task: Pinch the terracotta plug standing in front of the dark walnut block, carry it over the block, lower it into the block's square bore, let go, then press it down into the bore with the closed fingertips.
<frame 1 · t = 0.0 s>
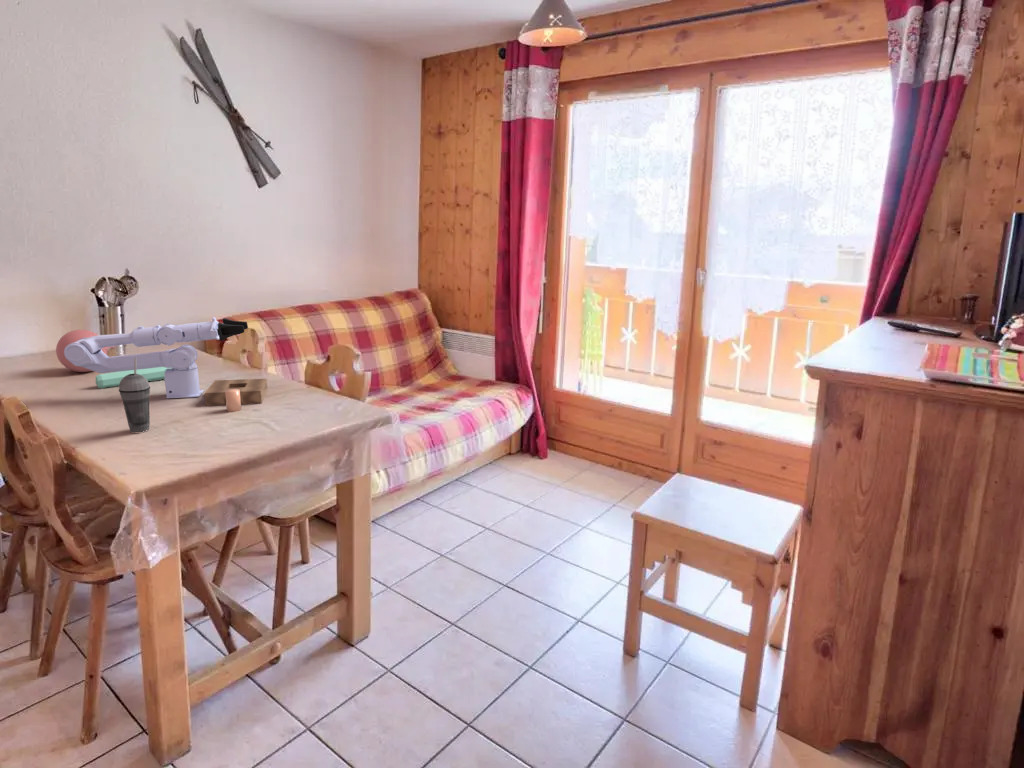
hand: (245, 327, 205), 22 cm above the table, tool horizontal, fingers open, 7 cm apart
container: (138, 383, 220), on the table
beverage cup: (140, 431, 172), on the table
terracotta plug: (234, 409, 192), on the table
balloon: (92, 371, 235), on the table
walnut bore block: (238, 397, 204), on the table
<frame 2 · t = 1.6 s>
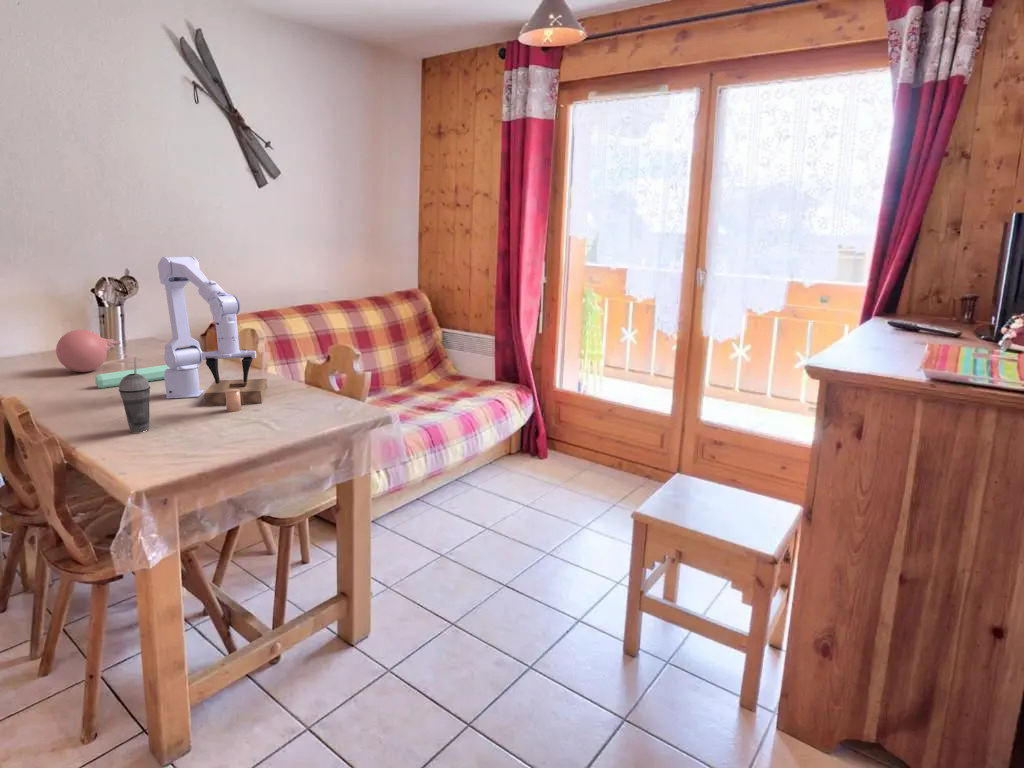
hand: (231, 382, 189), 8 cm above the table, tool pointing down, fingers open, 7 cm apart
nothing on the table moved.
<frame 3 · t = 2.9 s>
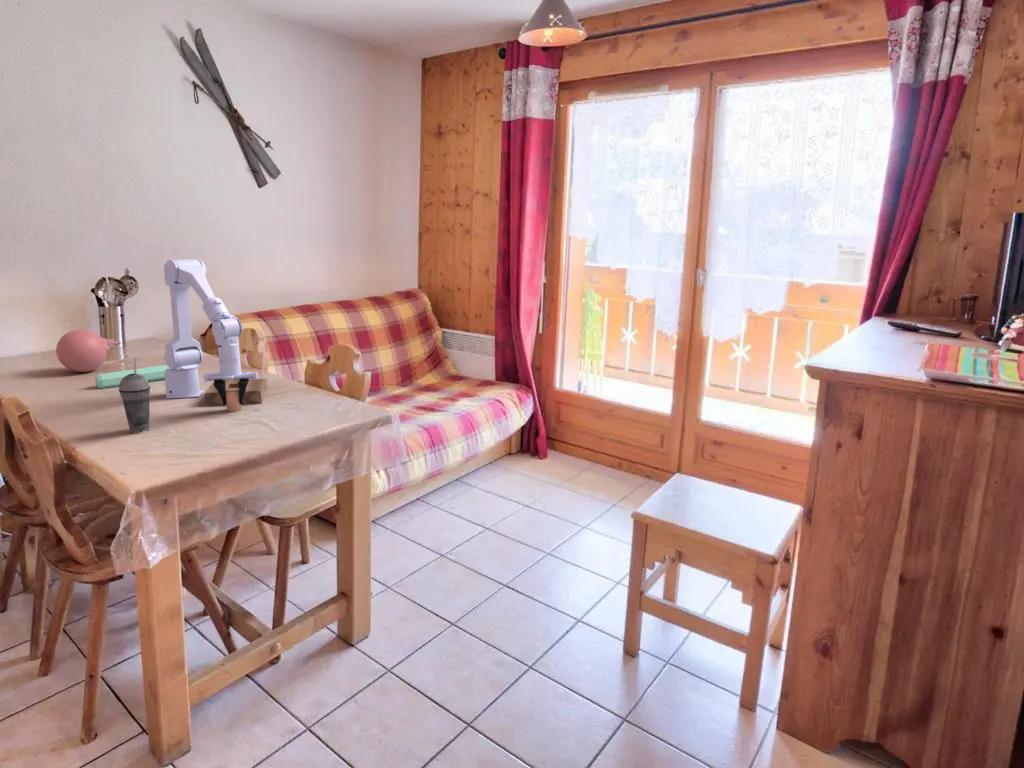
hand: (233, 403, 191), 2 cm above the table, tool pointing down, fingers closed on terracotta plug, 4 cm apart
terracotta plug: (234, 409, 192), on the table, touching gripper
everything else where it was.
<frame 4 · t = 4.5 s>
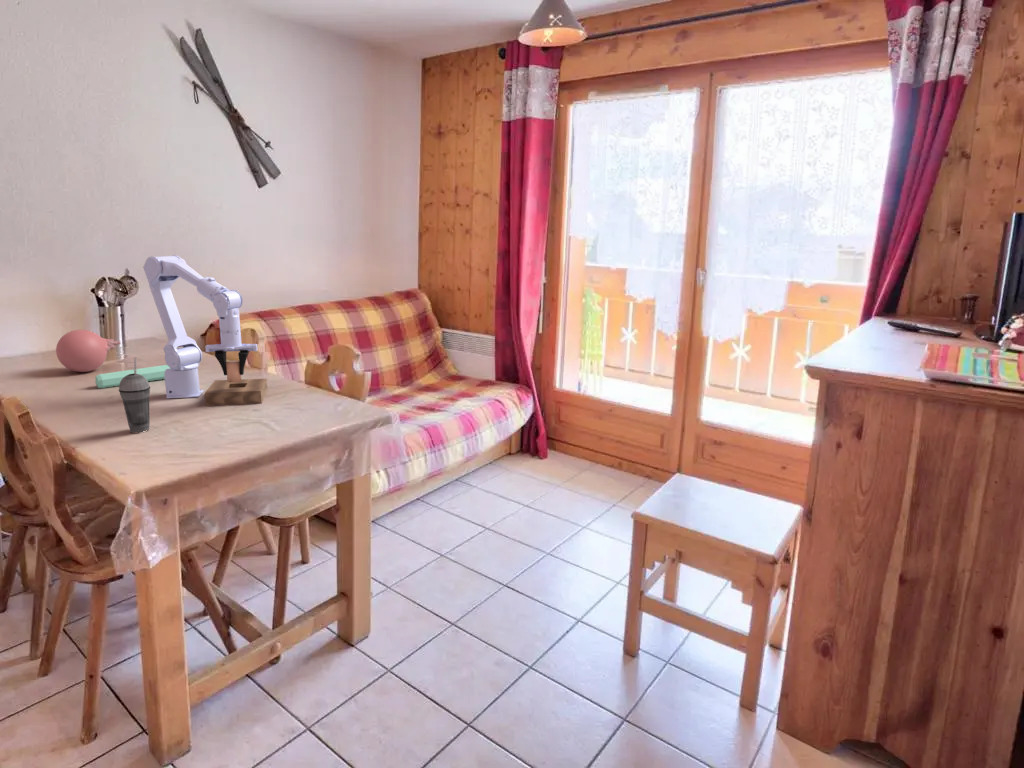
hand: (234, 374, 198), 9 cm above the table, tool pointing down, fingers closed on terracotta plug, 4 cm apart
terracotta plug: (234, 380, 198), point 7 cm above the table, touching gripper
everything else where it was.
when the fingers open (5 cm above the table, at t = 6.1 s): terracotta plug drops 3 cm, resting in walnut bore block.
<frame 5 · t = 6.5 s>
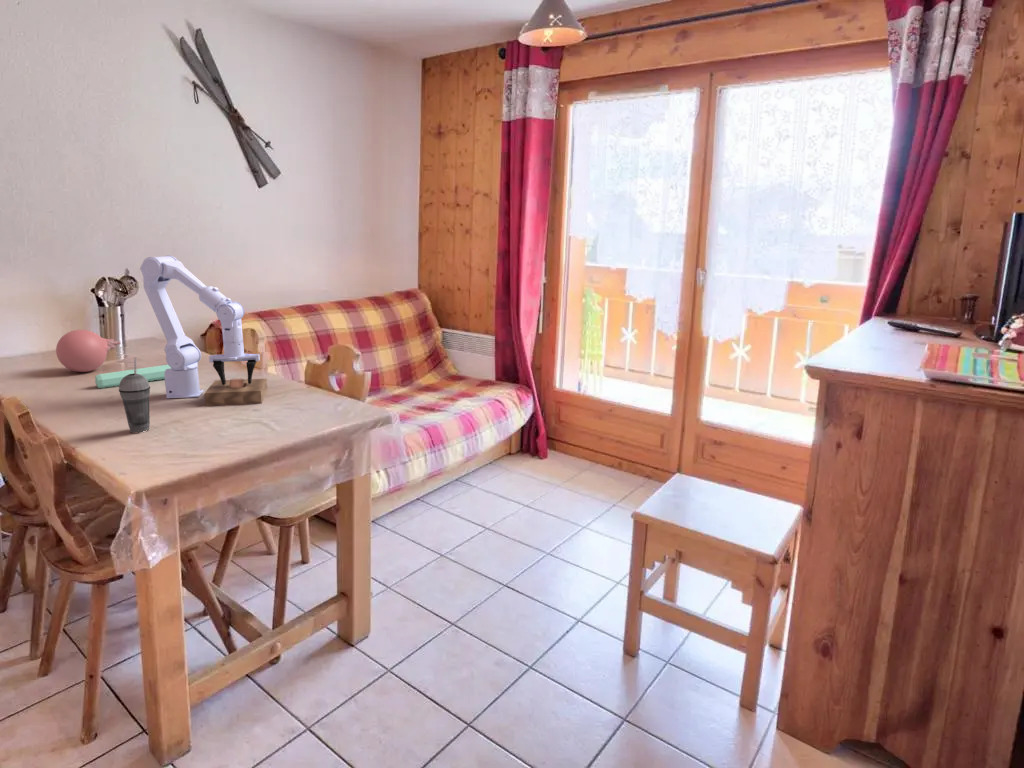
hand: (236, 383, 203), 5 cm above the table, tool pointing down, fingers open, 7 cm apart
terracotta plug: (237, 397, 204), resting in walnut bore block
everything else where it was.
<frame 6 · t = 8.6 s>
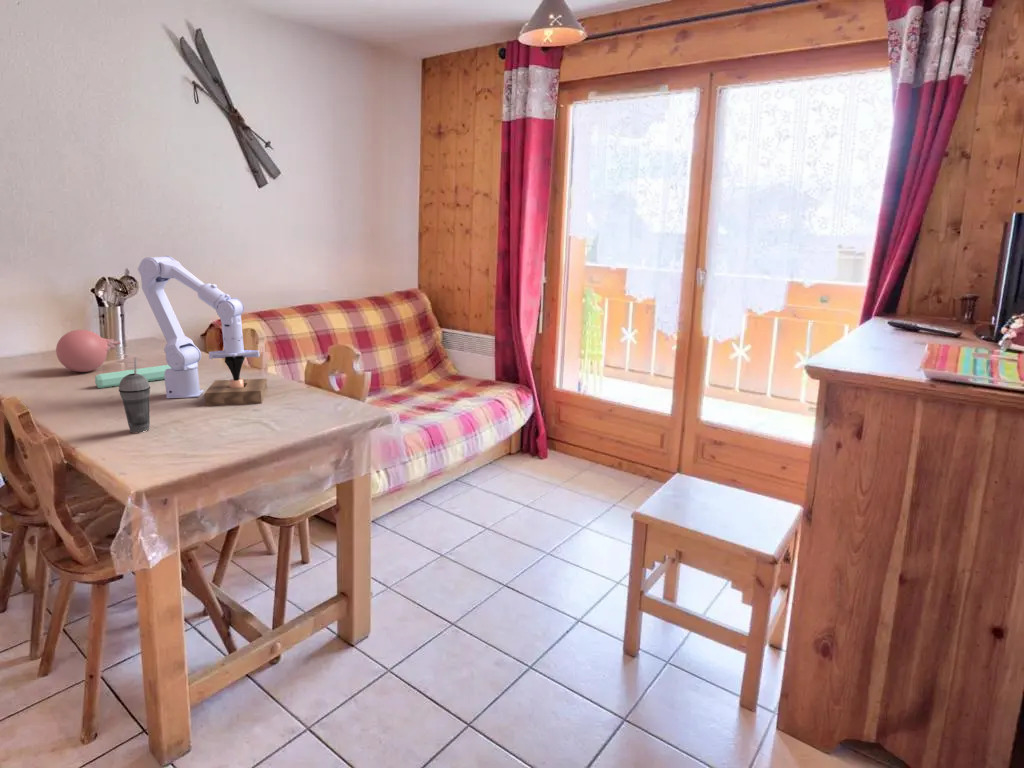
hand: (236, 380, 203), 6 cm above the table, tool pointing down, fingers closed, pressing on terracotta plug
terracotta plug: (237, 398, 204), resting in walnut bore block, touching gripper
everything else where it was.
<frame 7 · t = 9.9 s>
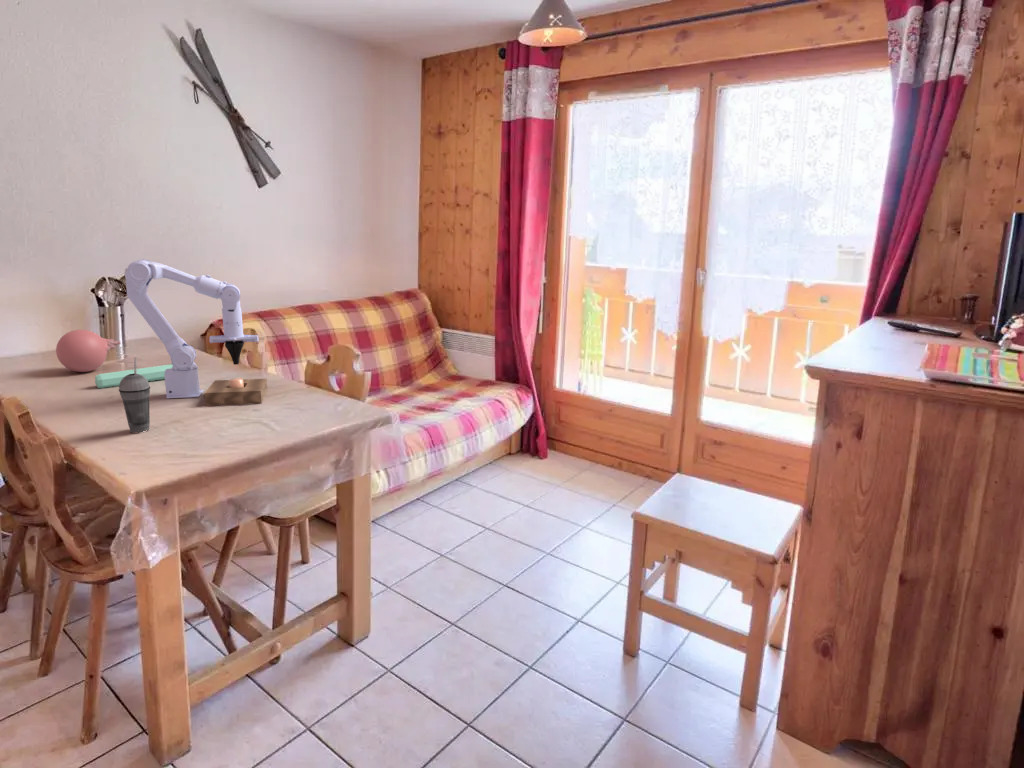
hand: (236, 363, 209), 9 cm above the table, tool pointing down, fingers closed
terracotta plug: (237, 397, 204), resting in walnut bore block
everything else where it was.
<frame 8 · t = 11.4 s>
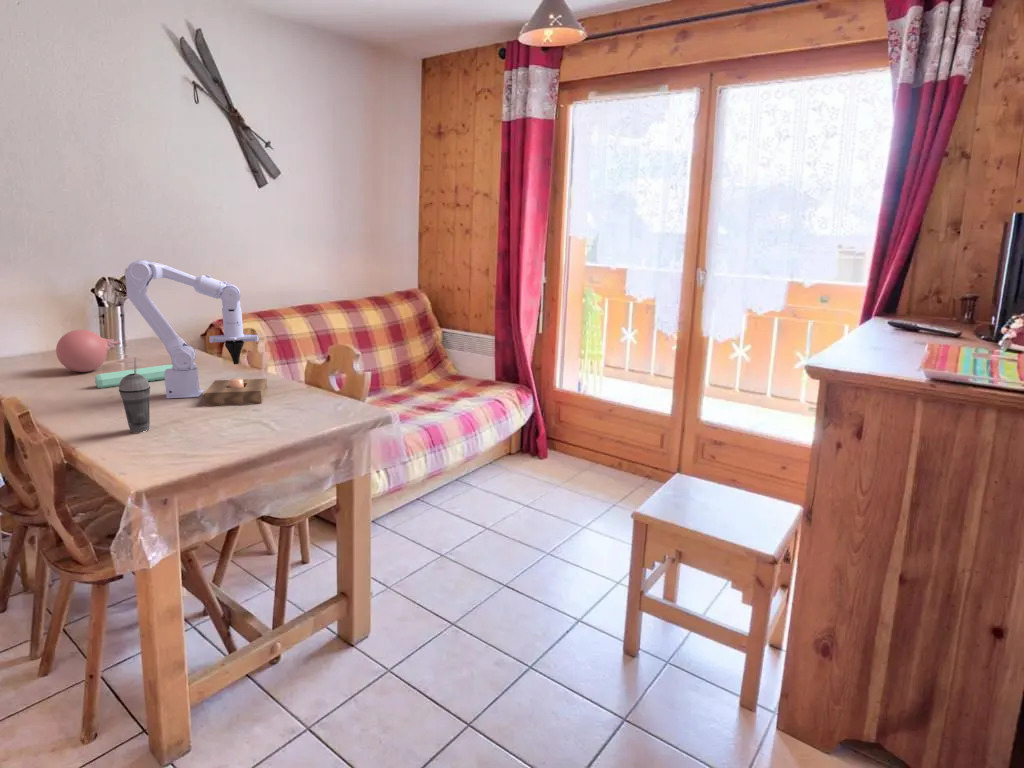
hand: (236, 363, 209), 9 cm above the table, tool pointing down, fingers closed
nothing on the table moved.
at the end: terracotta plug 0.2 cm off-centre on the walnut bore block, point 0.0 cm above the walnut bore block's base; terracotta plug tilted 0°; the gripper is holding nothing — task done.
